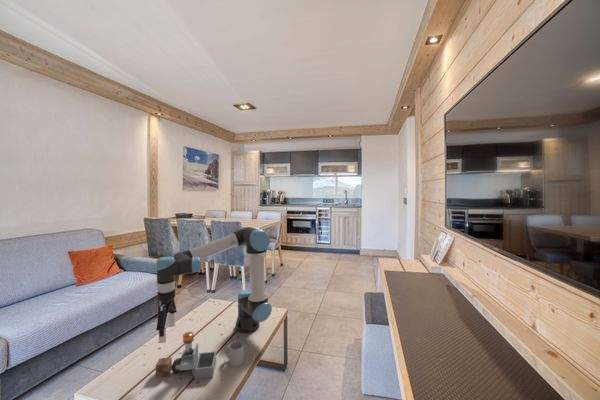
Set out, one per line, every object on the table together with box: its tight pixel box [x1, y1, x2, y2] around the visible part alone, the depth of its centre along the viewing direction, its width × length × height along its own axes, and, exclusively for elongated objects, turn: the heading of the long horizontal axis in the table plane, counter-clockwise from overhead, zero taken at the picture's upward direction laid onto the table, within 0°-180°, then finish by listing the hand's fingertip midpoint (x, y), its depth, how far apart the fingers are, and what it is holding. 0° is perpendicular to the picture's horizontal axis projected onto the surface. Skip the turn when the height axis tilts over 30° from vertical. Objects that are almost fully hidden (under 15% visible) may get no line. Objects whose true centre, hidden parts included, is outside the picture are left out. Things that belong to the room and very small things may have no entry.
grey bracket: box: [171, 342, 199, 377], centre depth 125 cm, size 11×9×10 cm
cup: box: [224, 340, 245, 367], centre depth 132 cm, size 7×10×9 cm
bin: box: [194, 351, 217, 381], centre depth 126 cm, size 8×12×5 cm, turn 10°
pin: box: [182, 331, 195, 355], centre depth 126 cm, size 5×5×11 cm
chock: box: [155, 357, 173, 379], centre depth 123 cm, size 6×5×6 cm
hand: (167, 334), depth 123 cm, fingers open, 13 cm apart
